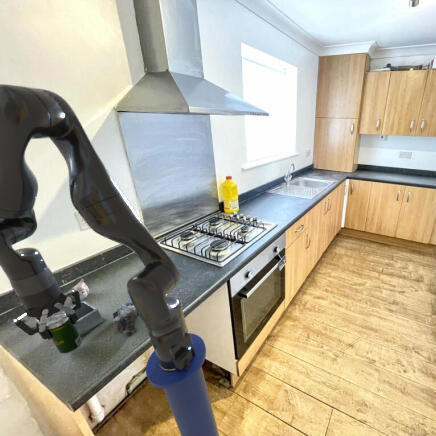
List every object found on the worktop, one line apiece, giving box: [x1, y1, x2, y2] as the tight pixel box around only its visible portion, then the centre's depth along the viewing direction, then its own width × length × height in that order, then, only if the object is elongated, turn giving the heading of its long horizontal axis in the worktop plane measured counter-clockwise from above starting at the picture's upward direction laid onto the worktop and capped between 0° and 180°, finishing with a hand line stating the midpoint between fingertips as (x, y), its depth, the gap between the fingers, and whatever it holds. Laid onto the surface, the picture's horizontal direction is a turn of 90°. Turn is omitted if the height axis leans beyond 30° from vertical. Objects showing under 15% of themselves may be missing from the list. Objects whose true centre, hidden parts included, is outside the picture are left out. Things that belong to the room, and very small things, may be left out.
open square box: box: [63, 300, 104, 338], centre depth 80 cm, size 9×9×6 cm
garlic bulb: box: [67, 277, 90, 302], centre depth 92 cm, size 7×6×8 cm
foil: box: [111, 295, 138, 335], centre depth 83 cm, size 12×11×15 cm
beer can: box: [45, 311, 83, 355], centre depth 70 cm, size 5×5×12 cm
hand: (62, 329), depth 69 cm, fingers closed on beer can, 5 cm apart
